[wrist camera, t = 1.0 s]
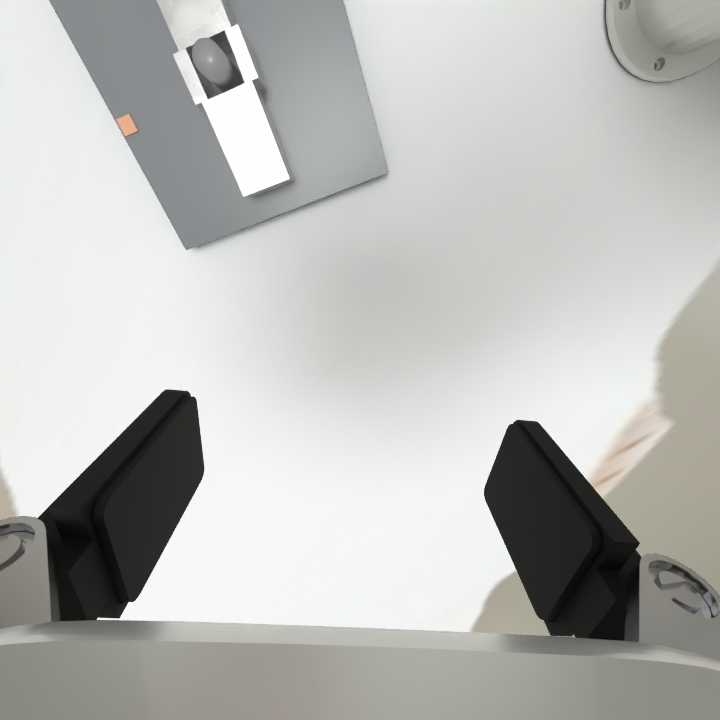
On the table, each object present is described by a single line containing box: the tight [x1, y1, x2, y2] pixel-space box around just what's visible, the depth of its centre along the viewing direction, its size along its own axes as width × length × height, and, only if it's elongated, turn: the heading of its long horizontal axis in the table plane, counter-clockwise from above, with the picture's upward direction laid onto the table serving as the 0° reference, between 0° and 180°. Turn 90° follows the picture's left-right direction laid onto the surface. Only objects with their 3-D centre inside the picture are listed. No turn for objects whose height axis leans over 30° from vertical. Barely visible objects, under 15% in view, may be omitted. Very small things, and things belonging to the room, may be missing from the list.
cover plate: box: [49, 0, 388, 250], centre depth 25 cm, size 20×20×6 cm
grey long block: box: [156, 0, 295, 197], centre depth 25 cm, size 5×16×3 cm, turn 19°
